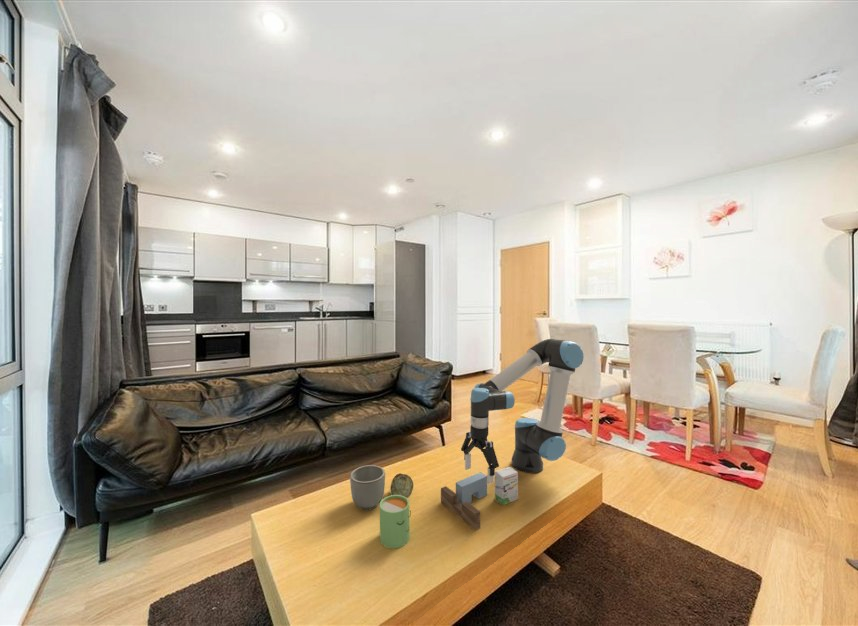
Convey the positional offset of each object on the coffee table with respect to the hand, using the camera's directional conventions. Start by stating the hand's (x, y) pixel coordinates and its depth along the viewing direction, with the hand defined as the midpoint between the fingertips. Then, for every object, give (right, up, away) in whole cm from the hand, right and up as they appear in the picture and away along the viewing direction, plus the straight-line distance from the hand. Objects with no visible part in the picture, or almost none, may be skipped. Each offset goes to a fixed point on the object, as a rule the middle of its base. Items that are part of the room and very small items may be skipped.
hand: (478, 475), depth 137 cm
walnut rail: (-9, -9, -13) cm, 18 cm away
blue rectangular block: (-3, -8, -2) cm, 9 cm away
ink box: (+11, -9, -3) cm, 14 cm away
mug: (-32, -9, -24) cm, 41 cm away
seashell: (-32, -9, -1) cm, 34 cm away
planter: (-46, -9, -6) cm, 47 cm away
